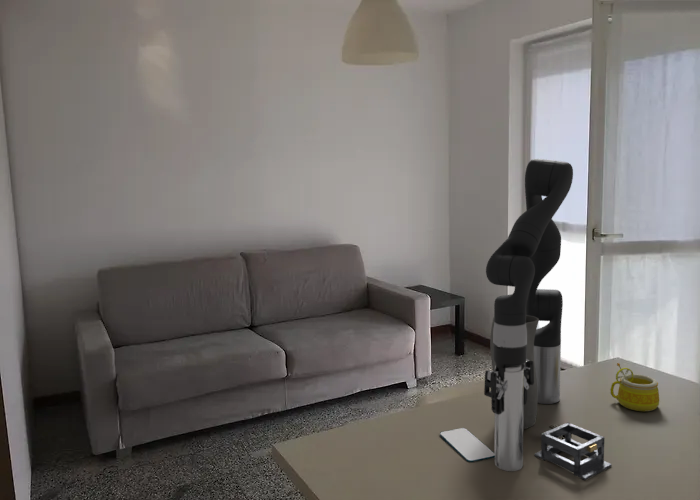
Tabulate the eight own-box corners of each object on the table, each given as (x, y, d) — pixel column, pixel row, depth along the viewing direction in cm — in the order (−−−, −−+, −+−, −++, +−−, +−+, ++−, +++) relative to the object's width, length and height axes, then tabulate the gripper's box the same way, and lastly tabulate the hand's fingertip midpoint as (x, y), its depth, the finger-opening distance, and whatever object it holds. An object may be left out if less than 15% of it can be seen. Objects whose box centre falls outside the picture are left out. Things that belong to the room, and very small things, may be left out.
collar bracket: (534, 455, 144) (534, 430, 143) (560, 443, 150) (560, 419, 149) (585, 480, 133) (585, 453, 132) (611, 466, 138) (612, 440, 137)
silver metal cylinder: (523, 472, 137) (525, 368, 133) (495, 470, 138) (495, 367, 135) (521, 458, 143) (522, 359, 140) (494, 456, 145) (494, 358, 141)
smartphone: (497, 458, 145) (464, 430, 160) (497, 455, 145) (464, 427, 160) (468, 465, 142) (438, 435, 157) (468, 461, 142) (438, 432, 157)
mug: (660, 402, 172) (662, 362, 171) (656, 416, 163) (658, 375, 161) (613, 394, 179) (614, 356, 177) (606, 407, 170) (608, 367, 168)
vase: (507, 439, 153) (508, 326, 149) (482, 420, 165) (482, 315, 160) (547, 431, 157) (549, 321, 152) (520, 413, 169) (521, 310, 164)
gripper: (517, 332, 143) (517, 396, 146) (475, 343, 135) (476, 411, 138) (543, 339, 137) (542, 405, 139) (501, 351, 129) (500, 422, 132)
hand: (509, 408), depth 139 cm, fingers open, 8 cm apart
